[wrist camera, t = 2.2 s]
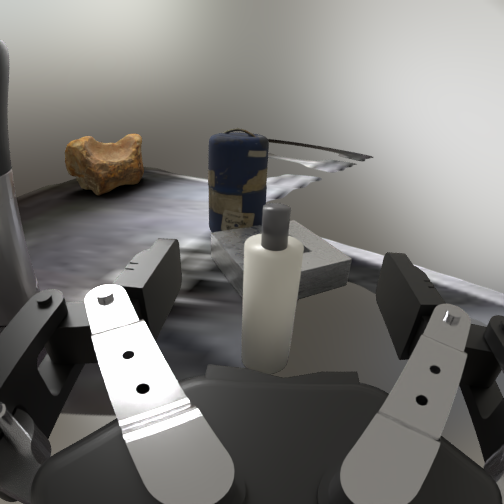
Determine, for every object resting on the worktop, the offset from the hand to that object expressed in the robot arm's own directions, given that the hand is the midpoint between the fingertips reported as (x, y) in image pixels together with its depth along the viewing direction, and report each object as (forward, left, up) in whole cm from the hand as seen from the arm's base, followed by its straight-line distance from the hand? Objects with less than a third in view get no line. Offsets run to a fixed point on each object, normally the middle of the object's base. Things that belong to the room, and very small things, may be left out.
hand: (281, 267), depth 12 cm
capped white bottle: (+6, +10, -16) cm, 20 cm away
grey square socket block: (+15, +24, -16) cm, 32 cm away
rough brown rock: (-6, +79, -17) cm, 81 cm away
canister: (+15, +38, -17) cm, 44 cm away
